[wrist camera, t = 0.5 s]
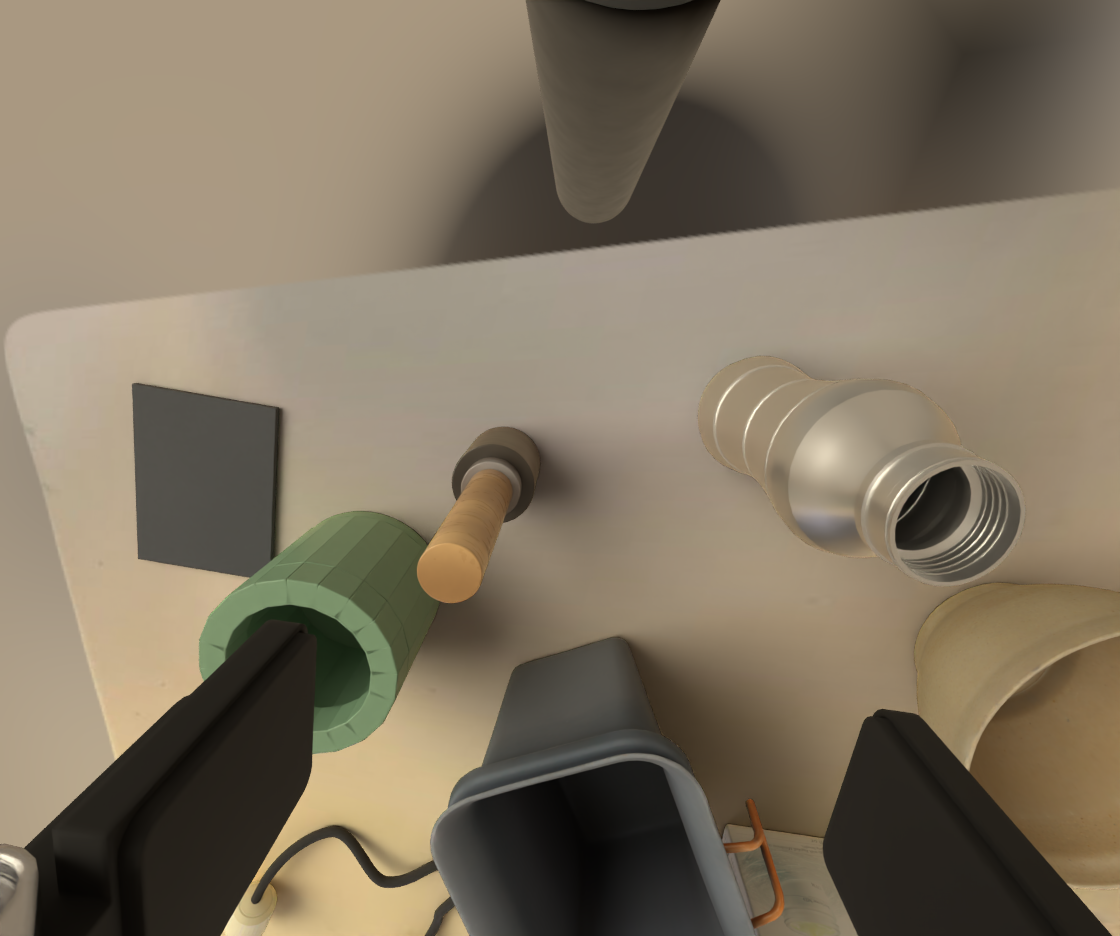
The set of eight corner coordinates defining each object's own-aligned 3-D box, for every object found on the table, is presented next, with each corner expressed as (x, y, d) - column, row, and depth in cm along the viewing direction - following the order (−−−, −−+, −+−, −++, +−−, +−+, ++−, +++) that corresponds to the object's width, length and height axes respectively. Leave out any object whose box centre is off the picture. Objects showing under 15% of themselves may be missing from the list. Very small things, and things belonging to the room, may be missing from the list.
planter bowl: (841, 572, 37) (945, 674, 27) (1099, 505, 35) (1319, 586, 25) (880, 764, 41) (984, 919, 30) (1113, 713, 39) (1308, 858, 29)
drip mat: (136, 382, 35) (131, 383, 35) (279, 407, 35) (275, 408, 35) (142, 556, 38) (137, 559, 38) (273, 578, 38) (269, 581, 38)
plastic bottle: (673, 441, 35) (792, 596, 16) (716, 337, 33) (908, 366, 14) (768, 474, 35) (998, 664, 16) (815, 372, 34) (1136, 449, 14)
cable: (310, 776, 43) (288, 815, 39) (493, 869, 45) (487, 914, 41) (229, 904, 46) (203, 950, 43) (402, 985, 48) (390, 1034, 45)
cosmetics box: (860, 838, 43) (947, 1000, 33) (837, 901, 45) (913, 1073, 34) (725, 819, 43) (771, 975, 33) (707, 883, 44) (745, 1050, 34)
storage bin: (462, 643, 39) (401, 821, 26) (675, 577, 38) (732, 730, 24) (565, 867, 44) (560, 1116, 31) (756, 818, 43) (843, 1059, 29)
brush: (473, 420, 35) (392, 504, 20) (545, 433, 35) (521, 526, 20) (464, 489, 36) (381, 618, 21) (534, 501, 36) (502, 639, 21)
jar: (297, 499, 37) (198, 564, 27) (450, 525, 37) (406, 599, 27) (290, 633, 40) (198, 736, 30) (433, 657, 40) (387, 767, 30)
